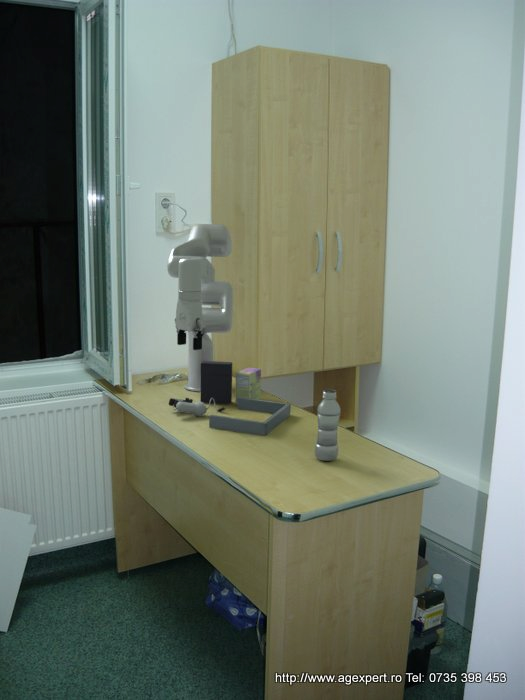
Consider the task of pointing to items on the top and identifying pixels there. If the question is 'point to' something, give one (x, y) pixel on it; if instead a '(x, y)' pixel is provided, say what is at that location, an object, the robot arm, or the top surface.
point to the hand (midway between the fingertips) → (189, 347)
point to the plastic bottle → (327, 427)
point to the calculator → (216, 382)
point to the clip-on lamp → (191, 406)
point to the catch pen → (249, 426)
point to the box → (248, 384)
